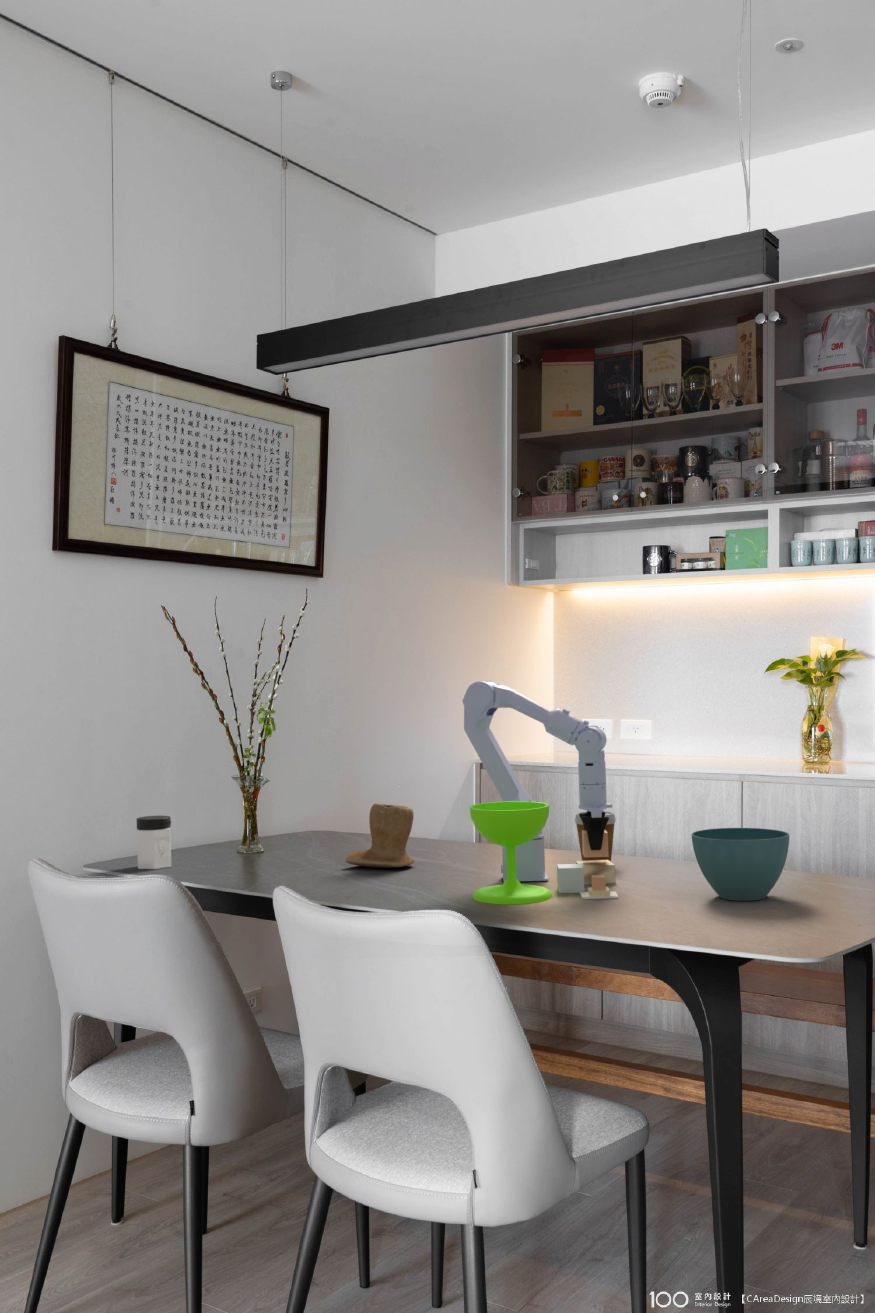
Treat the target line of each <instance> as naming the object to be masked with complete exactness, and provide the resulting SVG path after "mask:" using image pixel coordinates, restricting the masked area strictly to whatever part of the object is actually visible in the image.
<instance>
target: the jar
mask: <svg viewBox="0 0 875 1313" xmlns="http://www.w3.org/2000/svg"><path fill="white" fill-rule="evenodd" d="M135 822H136V842H137V869H138V870H159V869H167V868H172V844H171V842H172V841H171V839H172V837H171V836H172V835H171V827H172V826H171V825H172V820H171V816H170V815H146V816H141V817H137V818H136V821H135Z"/></svg>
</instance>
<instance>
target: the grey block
mask: <svg viewBox="0 0 875 1313" xmlns="http://www.w3.org/2000/svg"><path fill="white" fill-rule="evenodd" d="M556 873H557V874H556V877H557V878H556V880H557V890H558V893H559V894H574V893H577V894H578V893H579V894H580V892H585V884H584V870H583V866H582V864H576V863H562V864H561V863H560V864H559V863H557V864H556Z"/></svg>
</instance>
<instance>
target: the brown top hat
mask: <svg viewBox="0 0 875 1313" xmlns="http://www.w3.org/2000/svg"><path fill="white" fill-rule="evenodd" d="M369 810H370V811H369V816H368V817H369V821H368V822H369V831H370V836H371V837H370V838H371V846H370V848H369V849H366V850H357V851H354V852H350V853H349V854H348V855H346V856H345V858H344V862H345V863H346V864H349V865H353V866H359V867H367V868H381V869H389V868H390V869H394V868H402V867H408V866H411V865H413V864H414V863H415V858H413V857H411V856H410V855H409V854H407V851H406V850H407V849H406V847H407V843H408V840H409V838H410V834H411V831H412V828H413V822H414V815H415V814H414V810H413V809H412V807H410V806H405V805H392V804H385V803H381V802H374V803H373V804H372V806H371V808H370V809H369Z"/></svg>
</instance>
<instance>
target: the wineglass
mask: <svg viewBox="0 0 875 1313" xmlns="http://www.w3.org/2000/svg"><path fill="white" fill-rule="evenodd" d="M469 812H470V813H469V814H470V818H471V821H472V822H473V825H474V827H475V829H476V830H477V831H478V833H479V835H481V836H482V837H483V838H485V839H486V840H488V841H489V842H490V843H492V844H495V845H499V846H501V847H502V846H506V865H507V878H506V880H505V882H504V881H503V883H502V884H495V885H488V886H484V887H481V888H478V889H476V891H474V893H472V898H471V899H473V900H474V901H476V902H478V903H484V904H491V905H492V904H493V905H524V904H525V905H527V904H534V903H541V902H544V901H547V900H550V899H551V898H553V894H552V891H551V890H550V889H548V888H547V887H544V886H540V885H535V884H525V883H521V881H518V879H517V877H516V850H515V846H519V845H522V844H524V843H527V842H529V841H531V840H532V839H533V838H534V837H536V836H537V835H538V834H539V833H540V832H541V831H542V830H543V829H544V827H545V826H546V824H547V821H548V818H549V815H550V804H549V803H548V802H538V801H533V802H526V801H509V802H503V801H494V802H493V801H492V802H484V803H481V802H480V803H475V804H472V805H470V806H469Z"/></svg>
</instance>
